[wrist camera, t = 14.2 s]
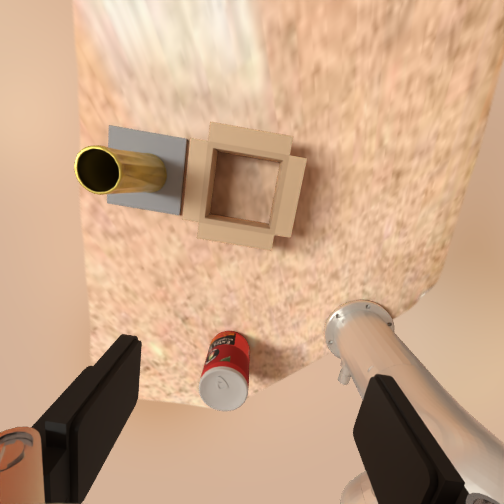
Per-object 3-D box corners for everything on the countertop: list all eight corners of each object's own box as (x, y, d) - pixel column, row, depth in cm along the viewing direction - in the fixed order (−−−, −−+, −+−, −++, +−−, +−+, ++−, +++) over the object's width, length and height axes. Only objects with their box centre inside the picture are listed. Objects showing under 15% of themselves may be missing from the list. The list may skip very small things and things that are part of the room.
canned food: (232, 322, 50) (226, 360, 40) (258, 351, 52) (258, 396, 41) (201, 343, 52) (187, 386, 41) (227, 371, 53) (220, 419, 43)
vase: (174, 182, 43) (135, 184, 30) (141, 198, 44) (89, 208, 30) (155, 146, 42) (105, 130, 28) (121, 163, 43) (58, 156, 29)
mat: (180, 214, 45) (179, 215, 45) (108, 202, 45) (107, 203, 44) (187, 139, 42) (186, 138, 42) (110, 125, 42) (108, 125, 41)
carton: (284, 245, 46) (287, 253, 42) (188, 229, 46) (180, 235, 41) (304, 144, 42) (311, 139, 37) (199, 125, 42) (192, 118, 37)
